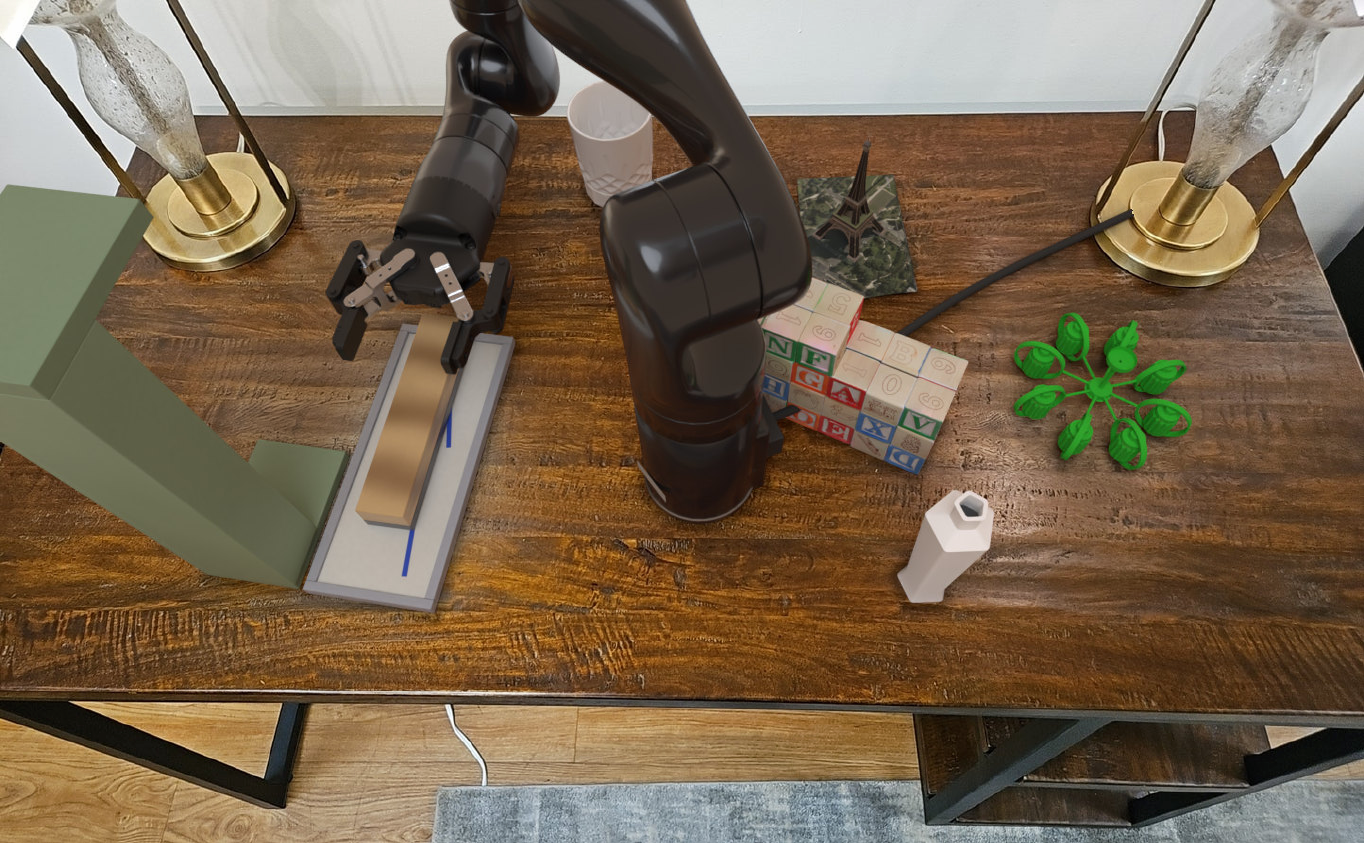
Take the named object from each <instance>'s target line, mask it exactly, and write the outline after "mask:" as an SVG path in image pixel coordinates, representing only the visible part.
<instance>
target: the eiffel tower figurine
mask: <svg viewBox="0 0 1364 843" xmlns="http://www.w3.org/2000/svg"><path fill="white" fill-rule="evenodd" d="M870 135H871V131H869V133H868V137H867V139H866V140H865V141H864V142H862V143H863V144H862V146H861V147H862V151H861V156H860V159H859V162H858V166H857V168H856V172H855V175H854V176H853V175H852V176H833V177H832V176H831V177H810V178H809V177H808V178H797V179H796V184H797V196H798V197H797V198H798V207H799V214H800V216H801V219H802V222H803V225H804V228H805V231H806V234H807V238H808V241H809V245H810V250H811V257H812V270H813V272H812V278H815V279H818V280H821V281H823V282H825V283H827V284H833V285H835V286H838V287H841V288H843V289H846V290H849V291H852V292H854V293H857V294H860V295H862V296H864V299H870V298H874V297H881V296H887V295H895V294H904V293H905V294H906V293H915V292H918V290H919V289H918V285H917V281H916V280H917V279H916V276H915V271H914V267H913V261H912V257H911V251H910V247H909V242H908V238H907V233H906V228H905V224H904V220H903V214H902V210H901V205H900V202H899V200H900V199H899V196H898V191H897V190H898V189H897V186H896V181H895V177H894V176H895V175H894V174H877V175H875V174H874V175H867V174H868V164H869V155H870V148H872V142H871V141H870Z"/></svg>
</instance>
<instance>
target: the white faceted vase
mask: <svg viewBox="0 0 1364 843" xmlns="http://www.w3.org/2000/svg"><path fill="white" fill-rule="evenodd" d="M994 518H995V511H994V510H993V509H992V508H991V507H989V500H988V499H987V498H985V497H983V496H981V495H980V494H977V493H975V492H973V491H972V490H966V491H964V492H962V491H960V490H957V489H952V490H951V491H950V492H948V494H947V495H945V496H944V497H942V499H940V500H939V501H938V502H937V503H935V504H934V505H933V506H931V507H930V508H929V509H928V510H927V511H926V512H925V513H924V517H923V519H922V522H921V525H920V528H919V531H918V533H917V537H916V538H915V543H914V546H913V549H912V551H911V554H910V557H909V559H908V563H907V565H906V566H904V567H903V568H902V569H901V570H900V571H898V572H897V578H898V581H899V582H900V584H901V587H902V588H903V591H904V593H905V595H906V597H907V598H908V599H907V600H908V601H909V602H910V603H912V604H916V603H917V604H920V603H922V604H923V603H939V602H943V600H944V596H945V589H947V587H948V586H951V584H952V583H954V581H955V580H956V579H958V578H959V577H960V576H961V575H962V574H963V573H964V572H965V571H966V570H968V568H970V567H971V566H972V565H973V564H974V563H976V561H978V560H979V559H980V558H981V557H982V556H983V555H984V554H985V553H987V552H988V550H990V548H991V540H992V532H993V526H994Z"/></svg>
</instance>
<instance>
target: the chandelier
mask: <svg viewBox="0 0 1364 843" xmlns="http://www.w3.org/2000/svg"><path fill="white" fill-rule="evenodd" d="M1069 317H1071V318H1072V319H1073V320H1072V321H1070V322H1069V323H1068V324H1067V325H1065V323H1066V321H1067V319H1068V318H1069ZM1138 324H1139V322H1138V321H1136V320H1133V319H1132V320H1129V323H1128V324H1127V325H1126V326H1121V327H1119V328H1118V329H1117V330H1115V331H1114V332H1113V333H1112V334H1111V335H1110V337H1109V338H1108V340H1107V341H1106V343H1105V344H1104V347H1103V353H1104V355H1105V361H1106V363H1105V364H1106V365H1107V366H1108V367H1107V370H1106V371H1105V373H1104V376H1103V377H1096V375H1095V373H1094V371H1093V369H1092V368H1091V365H1090V363H1089V361H1088V359H1087V356H1088V353H1089V350H1090V335H1089V334H1090V328H1089V326H1088V325H1087V324H1086V322H1085V320H1084V319H1083V317H1082V316H1081V315H1079V314H1078V313H1076V312H1067V313H1064V314H1063V315H1062V316H1060V318H1059V321H1058V324H1057V339H1056V341H1055V347H1056V348H1057V349H1056V348H1055V347H1054V346H1052V345H1050V344H1048V343H1045V342H1043V341H1038V340H1026V341H1024V342H1021V343H1019V344H1018V346H1017V347H1016V349H1015V350H1014V353H1013V359H1014V362H1015V364H1016V366H1017V367H1018V368H1019V369H1020V370H1022V371H1023V373H1024V374H1025V375H1026V376H1027V377H1029V378H1030V379H1036V380H1037V379H1042V380H1053V379H1056V378H1058V377H1060V376H1061V375H1062V374H1064V375H1065V376H1068V377H1070V378H1072V379H1075V380H1076V381H1079V382H1081V383H1083V384H1085V385H1084V390H1080V391H1075V392H1070V393H1069V392H1068V393H1066V391H1065V389H1064V387H1063V386H1062V385H1059V384H1050V385H1047V384H1038V385H1036V386H1034V387H1033V388H1032V389H1031V390H1030V391H1029V392H1027V393H1025V394H1024V395H1022V396H1021V397H1019V398H1018V399H1017V400H1016V401H1015V402H1014V404H1013V410H1014V413H1015V415H1016V416H1018V417H1022V418H1023V417H1024V418H1026V417H1027V418H1028V419H1030V420H1041V419H1043V418H1046V416H1048V414H1049V412H1050V411H1051V410H1052V409H1054V408H1056V407H1058V406H1059V405H1060V404H1061V403H1062V402H1063V401H1064V400H1065V399H1066V398H1069V397H1075V396H1079V395H1083V394H1086V395H1087V397H1088V398H1089V399H1091V402H1090V403H1089V405H1088V408H1087V410H1086V412H1084V414H1083V415H1082V416H1081V418H1080V419H1075V420H1073V421H1072V422H1070V423H1068V424H1067V426H1066V427H1064V429H1063V430H1062V432H1060V434H1059V435H1058V436H1057V438H1058V439H1057V445H1058V448H1059V449H1060V450H1061V453H1060V456H1059V458H1060V459H1062V460H1063V461H1068V460H1069V459H1070V458H1071V456H1074V455H1078V454H1081V453H1082V452H1083V450H1084V449H1085V448H1086V447H1087V446H1088V445H1089V443H1091V441H1092V438H1093V435H1094V429H1093V428H1094V427H1093V426H1092V425H1091V421H1092V419H1093V414H1091V411H1092V409H1093V407H1094V405H1095V403H1096V402H1098V403H1105V405H1106V408H1107V410H1108V411H1109V413H1110V415H1111V416H1112V419H1113V421H1114V422H1113V423H1112V424H1111V427H1110V431H1109V439H1110V442H1109V445H1108V453H1109V455H1110V457H1111V458H1113V459H1114V460H1115V461H1117V462H1118V463H1119V464H1120V465H1121V466H1122V468H1124V469H1127V470H1130V471H1133V470H1139V469H1140V468H1142V467H1144V465H1145V464H1146V461H1147V458H1148V445H1147V436H1146V434H1145V432H1146V433H1147V434H1149V435H1151V436H1153V437H1166V438H1178V437H1182V436H1184V435H1186V434H1187V433H1188V432H1189V431H1190V430H1191V427H1192V424H1193V419H1192V417H1191V414H1190V412H1188V411H1187V409H1185V408H1183V406H1181V405H1179V404H1177V403H1175V402H1173V401H1170V400H1167V399H1162V398H1148V399H1145V400H1142V401H1141V402H1139V403H1138V404H1137V403H1135V402H1134V401H1132V400H1128V399H1126V398H1124V397H1122V396H1120V395H1118V394H1116V393H1113V388H1117V387H1121V386H1127V385H1131V384H1132V387H1133V388H1134V390H1135V391H1136V392H1139V393H1147V394H1149V395H1154V396H1156V395H1160V394H1162V393H1164V392H1165V391H1166V389H1168V387H1169V386H1171V384H1172V383H1174V382H1175V381H1177V380H1179V379H1180V378H1181V377H1183V375H1184V374H1185V373H1186V371H1187V366H1186V364H1185V362H1184V360H1181V359H1171V360H1167V359H1158V360H1156V362H1154V363H1151V364H1150V365H1149V367H1148V368H1146V369H1144V370H1143V371H1141V372H1140V373H1139V374H1137V376H1135V378H1134V379H1131V380H1127V381H1123V382H1117V383H1113V384H1112V383H1111V382H1110V380H1111V379H1112V378H1113V376H1114V375H1115V374H1116V373H1120V374H1128V373H1130V372H1132V371H1133V370H1134V369H1135V368H1136V366H1137V365H1138V357H1137V354H1136V353H1135V352H1134V350H1135V349H1136V347H1137V346H1138V342H1139V339H1140V337H1139V333H1138V331H1136V330H1137V328H1138ZM1027 347H1033V348H1031V349H1030V350H1029V352H1028V353H1027V355H1026V356H1025V359H1024V360H1023V361H1022V360H1021V358H1020V356H1019V351H1020V350H1021V349H1023V348H1027ZM1080 351H1081V353H1080V354H1079V356H1078V357H1076V356H1074V355H1076V354H1078V353H1079V352H1080ZM1064 356H1065V358H1067V359H1068V360H1069V361H1071V362H1079V361H1083V362H1084V364H1085V366H1086V368H1087V370H1088V373H1089V374H1090V376H1091V379H1090V380H1089V379H1088V380H1085V379H1084V378H1082V377H1079V376H1077V375H1076V374H1073V373H1071V372H1068V371H1067V370H1064V369H1066V359H1065V358H1064ZM1055 358H1056V359H1057V361H1058V362H1059V364H1060V370H1059V371H1056V372H1053V373H1048V372H1049V370H1051V367H1052V366H1053V363H1054V362H1055ZM1177 367H1180V368H1179V369H1177ZM1056 392H1060V394H1059V395H1058V396H1057V395H1056ZM1112 397H1113V398H1115V399H1117V400H1120V401H1121V402H1124V403H1126V404H1128V405H1130V406H1132V407H1135V410H1134V414H1133V415H1134V419H1135V420H1133V419H1131V418H1129V417H1123V418H1118V417H1117V416H1116V414H1115V412H1114V410H1113V408H1112V405H1111V404H1110V403H1109V400H1110V399H1111V398H1112ZM1151 405H1153V407H1152V408H1151V409H1150V410H1149V411H1148V412H1147V414H1145V416H1144V418H1142V416H1141V414H1140V409H1141V408H1143V407H1146V406H1151ZM1021 406H1022V408H1021V409H1022V410H1020V407H1021ZM1181 416H1182V417H1183V418H1184V420H1185V421H1186V424H1187V426H1186V427H1185V428H1182V429H1181V430H1174V431H1171V430H1173V429H1174V428H1175V426H1177V424H1178V422H1179V420H1180V418H1181ZM1136 422H1137V423H1136ZM1121 423H1125V424H1127V425H1128V426H1129V427H1126V428H1125V429H1122V430H1120V432H1118V428H1119V426H1120V424H1121ZM1142 428H1143V429H1144V431H1145V432H1144V431H1143V430H1142ZM1138 455H1139V459H1138V462H1137V464H1136V465H1132V464H1130V462H1131V461H1132V460H1133V459H1135V458H1136V457H1137V456H1138Z"/></svg>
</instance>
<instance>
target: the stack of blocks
mask: <svg viewBox="0 0 1364 843" xmlns="http://www.w3.org/2000/svg"><path fill="white" fill-rule="evenodd" d="M864 301H865V298H864V296H862V295H860V294H857V293H854V292H852V291H849V290H846V289H843V288H841V287H838V286H835V285H833V284H827V283H825V282H823V281H821V280H818V279H815V278H812V281H811V285H810V288H809V290H808V292H807V294H806V295H805V296H804V298H802V299H801V300H800V301H799V302H797V303H795V304H794V305H792V306H790V307H788V308H786V309H783V310H781V311H778V312H776V313H773V314H771V315H768V316H766V317H763V318H761V319H758V322H759V324H760V326H761V328H762V330H763V333H764V336H765V340H766V366H765V376H764V386H763V395H764V397H765V399H766V401H767V403H768V405H769V407H770V409H771V411H772V413H773V412H775V411H778V410H780V409H783V408H785V407H787V406H790V405H795V406H797V407H798V408H800V409H801V411H800V412H798V413H795V414H793V415H791V416H788V417H786V418H785V419H787V420H789V421H791V422H795V424H799V425H800V426H803V427H806V428H808V429H810V430H812V431H814V432H818V433H821V434H823V435H825V436H827V437H830V438H832V439H834V440H837V441H839V442H841V443H844V444H846V445H849V446H850V447H851V448H853V449H855V450H857V451H860V452H862V453H865V454H867V455H869V456H871V457H873V458H875V459H878V460H881V461H884V462H886V463H888V464H890V465H892V466H895V467H897V468H898V469H899V468H900V469H902V470H904V471H906V472H908V473H911V474H913V475H916V476H918V475H919V474H920V472H921V470H922V468H923V467H924V464H925V462H926V459H927V458H928V457H929V455H930V453H931V450H932V448H933V446H934V444H935V442H936V439H937V437H938V434H939V432H940V431H941V428H942V426H943V424H944V421H945V420H946V417H947V414H948V412H949V409H950V407H951V404H952V402H953V401H954V397H955V395H956V392H957V390H958V387H959V385H960V383H961V381H962V379H963V376H964V373H965V372H966V369H967V367H968V364H969V360H967V359H965V358H962V357H959V356H957V355H954V354H952V353H951V354H950V353H948V352H946V351H944V350H941V349H938V348H934V347H932V346H931V345H929V344H927V343H924V342H921V341H919V340H916V339H915V338H914V339H913V338H911V337H908V336H907V337H906V336H903V335H901V334H898V332H895V331H893V330H891V329H889V328H885V327H883V326H880V325H877V324H874V323H871V322H868V321H865V320H860V318H861V314H862V309H863V305H864Z"/></svg>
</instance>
